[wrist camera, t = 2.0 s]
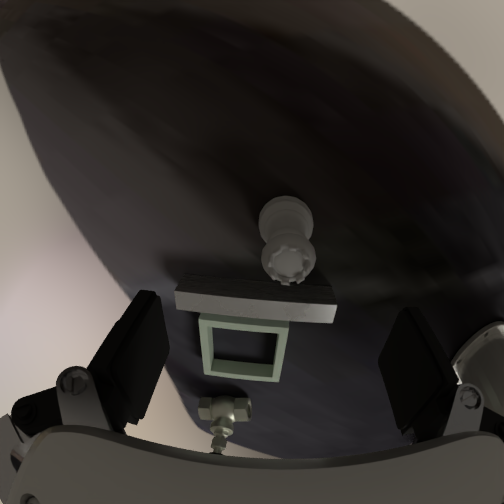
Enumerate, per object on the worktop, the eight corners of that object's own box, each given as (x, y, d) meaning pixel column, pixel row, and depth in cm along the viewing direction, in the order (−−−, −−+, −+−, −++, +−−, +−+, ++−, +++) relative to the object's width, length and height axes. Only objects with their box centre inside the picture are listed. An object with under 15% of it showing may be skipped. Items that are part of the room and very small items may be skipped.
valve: (198, 384, 33) (177, 459, 22) (246, 384, 32) (234, 466, 21) (212, 408, 36) (196, 476, 25) (254, 409, 35) (246, 480, 24)
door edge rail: (331, 286, 25) (337, 305, 22) (327, 303, 25) (332, 323, 23) (184, 273, 25) (174, 290, 23) (185, 291, 26) (176, 309, 24)
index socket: (288, 314, 26) (288, 327, 25) (279, 369, 30) (278, 382, 28) (203, 306, 27) (198, 318, 25) (207, 361, 31) (204, 374, 29)
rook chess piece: (320, 233, 22) (338, 283, 15) (272, 252, 24) (269, 308, 16) (299, 185, 21) (311, 215, 14) (249, 207, 22) (235, 248, 15)
